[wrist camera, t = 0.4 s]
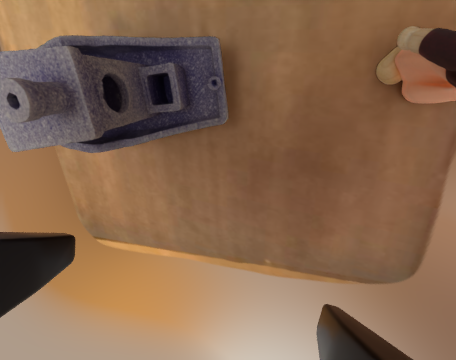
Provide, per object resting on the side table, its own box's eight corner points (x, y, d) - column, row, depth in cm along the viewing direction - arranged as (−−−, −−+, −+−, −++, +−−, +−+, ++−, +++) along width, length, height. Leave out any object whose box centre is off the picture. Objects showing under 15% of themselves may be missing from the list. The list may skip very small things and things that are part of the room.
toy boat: (229, 24, 19) (120, -58, 7) (240, 128, 21) (174, 193, 10) (71, 54, 23) (-166, 34, 11) (98, 138, 26) (-68, 193, 14)
